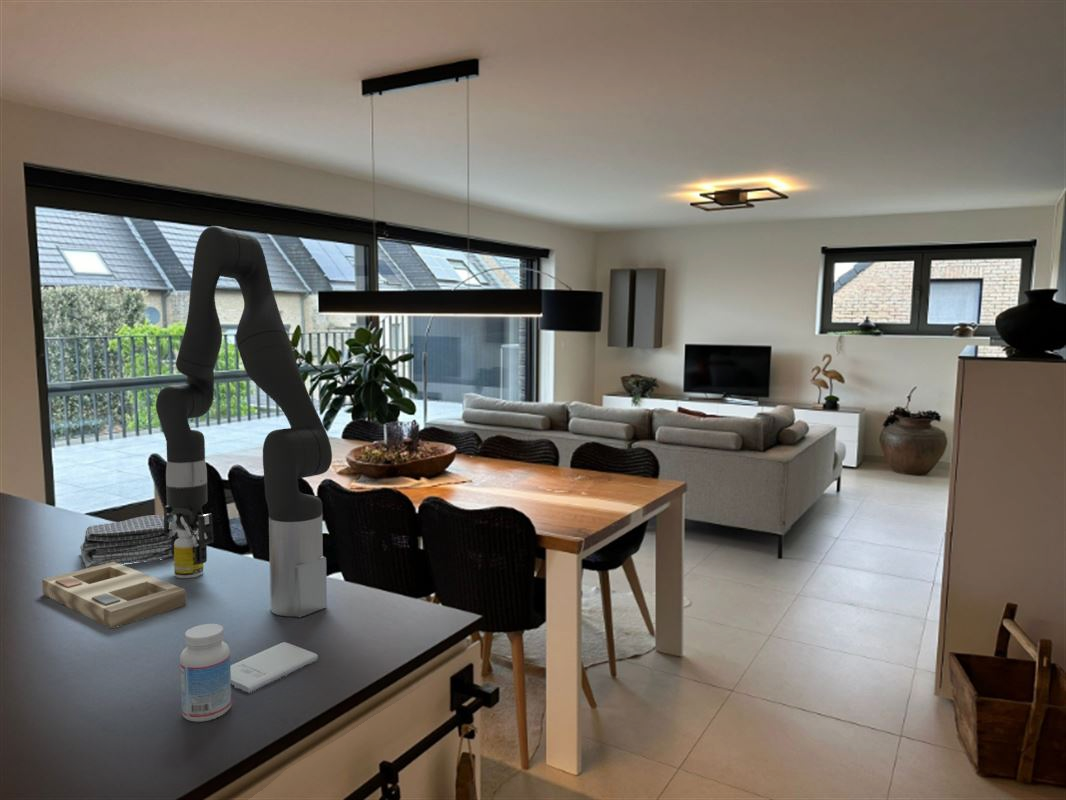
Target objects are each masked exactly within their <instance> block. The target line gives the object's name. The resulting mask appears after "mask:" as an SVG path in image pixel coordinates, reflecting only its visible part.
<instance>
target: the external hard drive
mask: <svg viewBox="0 0 1066 800" xmlns="http://www.w3.org/2000/svg"><path fill="white" fill-rule="evenodd" d="M316 658H318V659H319V655H318V654H317V653H314V652H313V651H310V650H307V649H305V648H303V647H300V646H296V645H294V644H291V643H288V642H286V641H283V642H281V643H277V644H275V645H274V646H272V647H269V648H266V649H264V650H262V651H260V652H258V653H256V654H254V655H251V656H249V657H247V658H244V659H243V660H239V661H237V662H236V663H233V664H230V671H231V684H232V685H231V686H233V685H235V686H236V687H239V688H242V689H245V690H248V691H250V690H252V689H254V688H257V687H259V686H260V685H262V684H264V683H267V682H269V681H271V680H272V679H274V678H276V677H279V676H280V675H282V674H285V673H287V672H289V671H291V670H294V669H295V668H297V667H299V666H301V665H303V664H305V663H307V662H310V661H311V660H314V659H316Z"/></svg>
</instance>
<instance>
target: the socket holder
mask: <svg viewBox="0 0 1066 800" xmlns="http://www.w3.org/2000/svg"><path fill="white" fill-rule="evenodd" d="M41 581H42V595H43V594H44V595H46V596H48V597H50V598H49V599H51V598H52V599H51V600H53V599H54V600H53V601H55V600H56V601H55V602H57V601H58V602H57V603H59V602H60V603H59V604H61V603H62V604H61V605H63V604H64V605H63V606H65V605H66V606H65V607H67V606H68V607H67V608H69V609H71V610H72V611H75V612H76V613H79V614H81V615H83V616H85V617H87V618H89V619H91V618H92V619H91V620H93V621H96V622H97V623H99V624H101V625H103V626H105V625H106V626H105V627H107V626H108V627H107V628H109V627H110V628H109V629H111V628H113V629H115V628H114V627H116V628H118V627H117V626H119V627H121V626H120V625H122V626H125V625H124V624H126V625H128V624H127V623H129V624H131V622H132V623H134V622H133V621H135V622H137V621H136V620H138V621H141V620H144V619H147V618H149V617H150V616H151V617H154V616H156V614H157V615H160V614H163V613H166V612H169V611H172V609H173V610H175V608H176V609H178V607H179V608H181V607H185V606H186V604H187V603H186V588H182V587H180V586H178V585H176V584H172V583H169V582H167V581H165V580H162V579H159V578H156V577H154V576H152V575H149V574H147V573H144V572H141V571H139V570H136V569H134V568H131V567H128V566H127V565H121V564H119V563H116V562H111V563H107V564H103V565H99V566H95V567H91V568H87V569H86V568H83V569H78V570H74V571H71V572H67V573H63V574H58V575H54V576H49V577H46V578H43V579H42V580H41ZM44 595H43V596H44ZM46 596H45V597H46ZM48 597H47V598H48ZM159 613H160V614H159ZM153 615H154V616H153ZM146 617H147V618H146ZM143 618H144V619H143ZM140 619H141V620H140Z"/></svg>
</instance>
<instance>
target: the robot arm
mask: <svg viewBox="0 0 1066 800" xmlns="http://www.w3.org/2000/svg"><path fill="white" fill-rule="evenodd" d="M191 273H192V274H191V282H190V291H189V299H188V300H189V301H188V302H189V303H188V312H187V318H186V323H185V328H184V332H183V336H182V339H181V342H180V346H179V350H178V354H177V357H176V362H175V368H176V370H177V371H178V372H179V373H181V374H182V375H184V376H186V383H183V384H182V383H181V384H171V385H167V386H164V387H163V388H161V390H160V391H159V392H158V394H157V397H156V402H155V407H156V408H155V409H156V414H157V417H158V420H159V423H160V426H161V429H162V433H163V435H164V438H165V441H166V469H165V483H166V484H165V485H166V486H165V489H166V491H165V492H166V505H165V506H163V516H164V533H165V534H167V533H168V534H169V538H171V550H172V555H173V556H172V557H174V542H175V540H176V539H178V538H179V537H178V529H179V528H180V529H184V530H186V532H187V534H188V536H189V537H190V538H192V540H193V543H194V545H195V546H194V557H195V563H196V564H202V563H203V564H205V563H206V562H207V560H208V559H207V558H208V557H207V556H208V553H207V552H208V551H207V547H208V546H207V545H208V544H209V545H210V544H212V543H214V539H215V537H214V535H215V534H214V523H213V522H214V521H213V514H212V513H211V512H210V513H206V514H204V512H203V508H202V507H203V506H204V505H206V504H207V503H208V469H207V464H206V463H207V462H206V447H205V446H206V443H205V442H206V441H205V436H204V434H203V432H202V431H200V430H197V429H192V428H191V427H190V423H189V420H188V419H194V418H200V417H203V416H204V415H206V414H207V413H208V412H209V410H210V409H211V407H212V405H213V402H214V397H215V395H214V394H215V393H214V392H215V377H214V375H215V374H214V373H215V370H214V369H215V368H216V363H217V361H218V358H219V353H220V351H221V347H222V342H223V331H222V326H221V321H220V318H219V315H218V310H217V307H216V298H215V297H216V290H217V285H218V282H219V280H220V277H223V278H229V279H235V281H236V282H237V283H238V286H239V288H240V291H241V295H242V299H243V310H242V313H241V317H240V319H239V321H238V325H237V328H236V329H237V330H236V333H235V341H236V346H237V350H238V353H239V356H240V359H241V361H242V362H241V363H242V364H243V367H244V371H245V372H246V374H247V375H248V377H249V378H250V379H251V381H253V382H254V384H255V385H256V386H257V387H258V388H259V389H260V390H261V391H262V392H263V393H265V394H266V395H267V396H268V397H269V398H270V399H271V400H273V402H274V403H276V404H277V406H278V407H279V408H280V409H281V411H282V412H283V414H284V416H285V417H286V419H287V422H288V423H289V425H290V428H288V427H287V428H280V429H274V430H272V431H270V432H269V433H268V434H267V435H266V437H265V439H264V442H263V446H262V468H263V479H264V482H263V483H264V496H265V500H266V501H265V502H266V504H267V505H266V506H267V509H268V536H269V537H268V539H269V541H268V543H269V547H268V548H269V549H268V550H269V589H270V590H269V592H270V611H271V613H272V614H275V615H277V616H281V617H282V616H283V617H296V618H302V616H303V617H305V616H307V615H310V614H312V613H316V612H318V611H321V610H324V609H325V608H327V606H328V605H327V604H328V603H327V602H328V601H327V600H328V599H327V591H328V590H327V557H326V556H324V555H323V554H324V553H323V552H324V551H323V549H324V548H323V547H324V546H323V537H324V536H323V501H322V500H321V498H319V497H318V496H315V495H312V494H307V493H303V492H301V491H300V488H299V482H298V479H304V478H305V479H306V478H309V477H315V476H319V475H323V474H325V473H326V472H327V471H328V470H329V469H330V467H331V465H332V461H333V451H332V445H331V442H330V438H329V436H328V432H327V431H326V429H325V427H324V424H323V422H322V419H321V418H320V416H319V414H318V413H319V412H317V409H316V407H315V405H314V403H313V400H312V399H311V396H310V394H309V392H308V388H307V386H306V384H305V381H304V379H303V376H302V374H301V371H300V367H299V365H298V361H297V359H296V355H295V353H294V349H293V346H292V343H291V340H290V338H289V335H288V333H287V332H288V331H287V330H286V327H285V325H284V322H283V320H282V319H283V318H282V316H281V313H280V310H279V307H278V303H277V301H276V297H275V293H274V290H273V286H272V282H271V277H270V274H269V269H268V265H267V260H266V256H265V252H264V250H263V247H262V245H261V243H260V241H259V240H258V239H257V237H256V236H253V235H251V234H250V233H247V232H244V231H239V230H236V229H233V228H232V229H231V228H227V227H223V226H217V225H211V226H209V227H206V228H205V229H204V230H203V231H201V233H200V235H199V236H198V240H197V242H196V247H195V251H194V256H193V265H192V272H191ZM170 522H171V525H170V527H169V523H170ZM197 529H198V530H197ZM195 530H196V531H195ZM197 536H198V537H199V540H198V538H197Z"/></svg>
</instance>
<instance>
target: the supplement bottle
mask: <svg viewBox="0 0 1066 800" xmlns="http://www.w3.org/2000/svg"><path fill="white" fill-rule="evenodd" d="M197 530H198V529H197ZM195 531H196V530H195ZM178 537H179V538H178V539H176V540H175V542H174V556H173V558H174V560H173V561H174V563H173V565H174V572H173V573H174V576H175V578H179V579H192V578H193V579H194V578H196V577H199V576H201V575H202V574H203V573H204V563H202V564H196V563H195V557H194V546H195V545H194V543H193V540H192V538H190V537H189V536H188V534H187V532H186V530H184V529H180V528H179V529H178ZM197 538H198V540H199V535H198V536H197Z"/></svg>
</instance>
